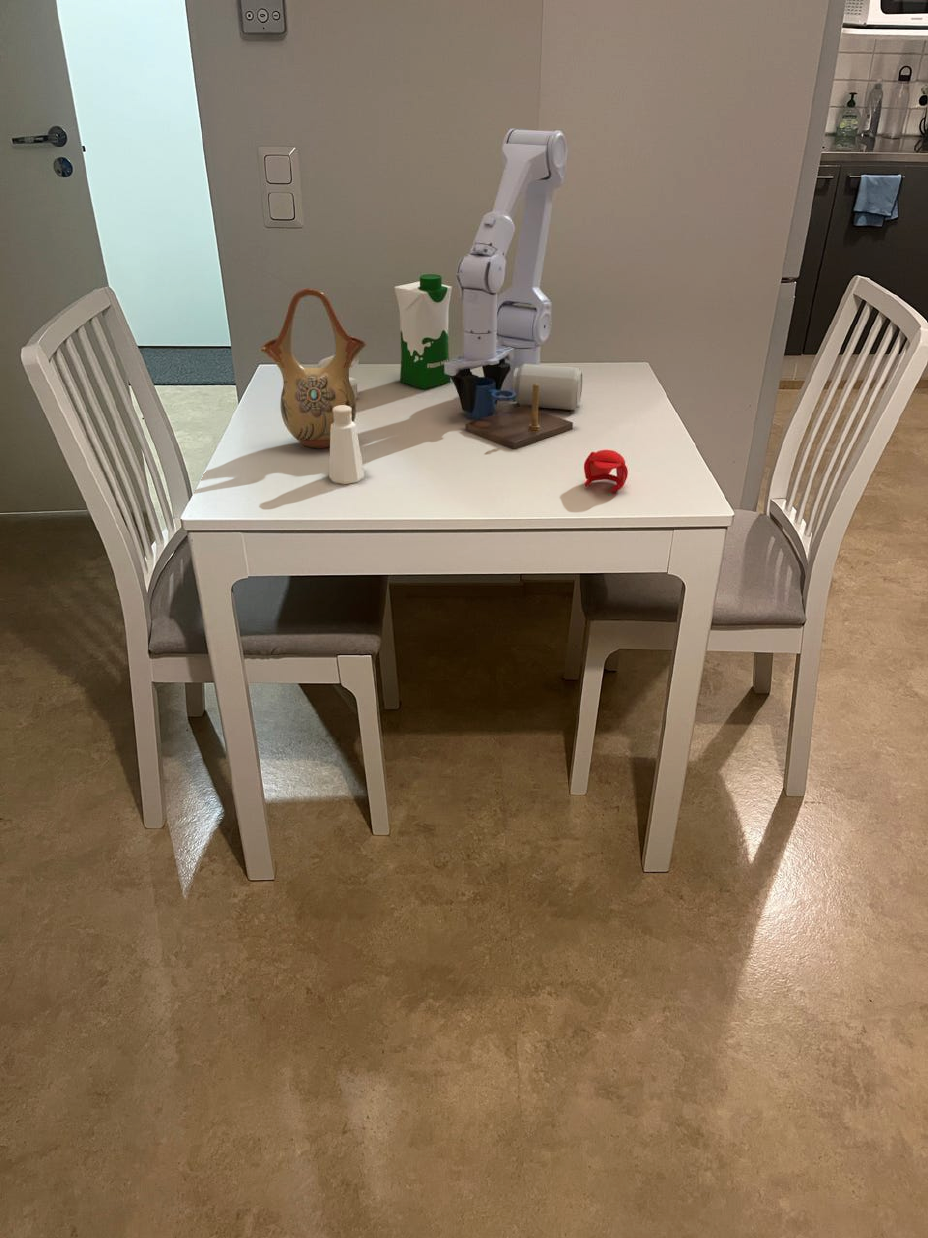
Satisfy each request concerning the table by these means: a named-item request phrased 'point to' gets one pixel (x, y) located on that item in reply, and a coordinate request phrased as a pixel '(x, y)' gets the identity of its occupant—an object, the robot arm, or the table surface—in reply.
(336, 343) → the ceramic vessel
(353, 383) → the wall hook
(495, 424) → the peg stand
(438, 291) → the milk carton
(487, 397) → the cup
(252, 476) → the table surface
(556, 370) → the can
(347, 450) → the pepper shaker
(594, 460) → the red hollow rounded piece
